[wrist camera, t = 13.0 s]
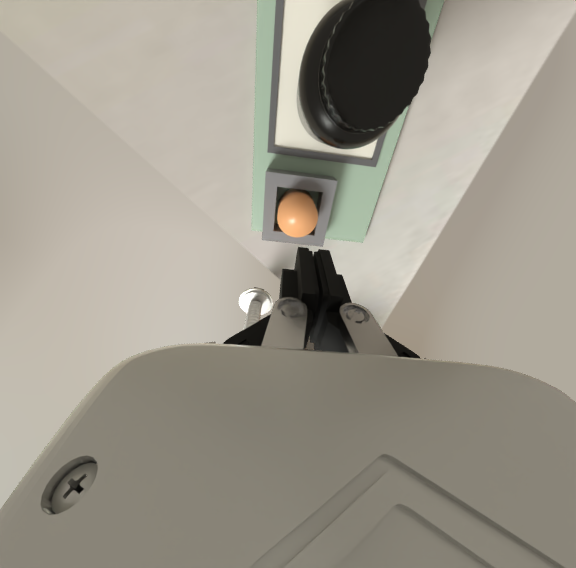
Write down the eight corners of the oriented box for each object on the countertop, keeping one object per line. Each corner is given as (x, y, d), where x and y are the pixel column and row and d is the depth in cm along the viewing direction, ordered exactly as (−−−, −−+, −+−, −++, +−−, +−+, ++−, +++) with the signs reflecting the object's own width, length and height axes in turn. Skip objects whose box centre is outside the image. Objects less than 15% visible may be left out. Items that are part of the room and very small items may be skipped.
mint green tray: (259, -32, 16) (254, -67, 13) (438, 3, 17) (468, -23, 14) (252, 227, 28) (248, 238, 25) (360, 239, 29) (368, 251, 26)
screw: (279, 294, 34) (258, 310, 36) (256, 275, 32) (234, 293, 34) (276, 370, 23) (245, 387, 25) (241, 348, 21) (210, 369, 23)
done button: (280, 185, 24) (279, 194, 20) (317, 190, 24) (321, 199, 21) (277, 222, 26) (275, 235, 23) (310, 225, 26) (313, 239, 23)
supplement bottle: (355, 20, 17) (448, -132, 7) (382, 115, 20) (471, 100, 11) (280, 82, 19) (273, 29, 9) (316, 159, 22) (339, 181, 13)
